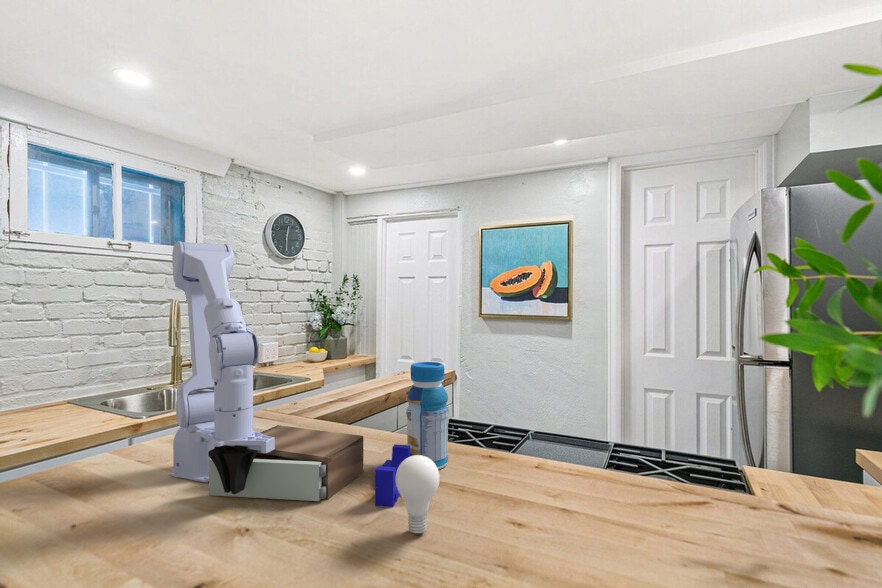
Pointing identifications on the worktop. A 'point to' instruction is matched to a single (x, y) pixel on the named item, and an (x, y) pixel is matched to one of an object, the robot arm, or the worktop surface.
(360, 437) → the cabinet
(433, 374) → the beverage bottle
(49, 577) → the worktop surface
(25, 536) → the worktop surface
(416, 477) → the lightbulb
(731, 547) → the worktop surface
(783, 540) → the worktop surface
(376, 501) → the cable clip
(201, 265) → the robot arm
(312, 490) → the cabinet door
